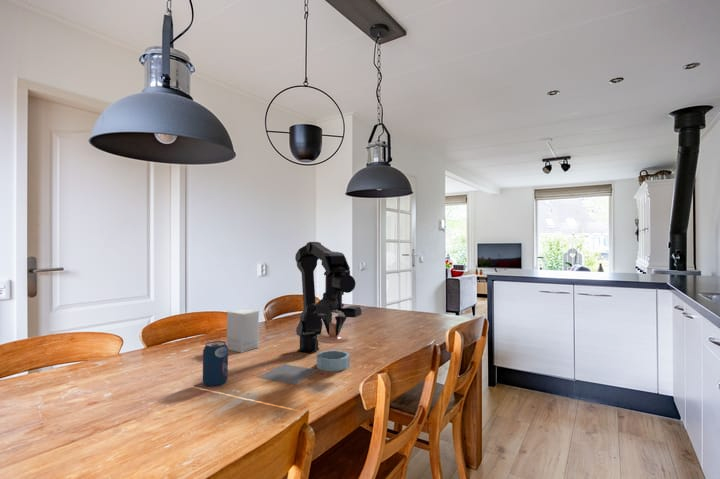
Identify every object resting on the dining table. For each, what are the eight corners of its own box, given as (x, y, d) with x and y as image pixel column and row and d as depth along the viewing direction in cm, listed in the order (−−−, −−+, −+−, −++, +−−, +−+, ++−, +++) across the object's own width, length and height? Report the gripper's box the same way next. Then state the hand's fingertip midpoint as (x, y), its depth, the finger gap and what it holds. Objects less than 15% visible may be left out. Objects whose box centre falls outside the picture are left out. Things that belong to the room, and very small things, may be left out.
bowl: (310, 369, 124) (310, 357, 124) (326, 360, 134) (327, 348, 134) (340, 374, 119) (340, 361, 119) (354, 364, 129) (354, 352, 129)
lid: (310, 341, 124) (311, 324, 124) (326, 334, 134) (326, 318, 134) (340, 345, 120) (340, 327, 120) (354, 337, 130) (354, 321, 130)
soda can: (229, 385, 109) (230, 344, 109) (204, 390, 105) (204, 347, 106) (225, 378, 115) (226, 339, 115) (201, 382, 111) (201, 342, 112)
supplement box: (259, 347, 149) (259, 310, 150) (241, 353, 142) (241, 313, 142) (244, 344, 154) (244, 308, 154) (225, 349, 147) (226, 311, 147)
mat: (256, 378, 115) (256, 377, 115) (283, 365, 128) (283, 364, 128) (294, 385, 109) (294, 384, 109) (319, 371, 122) (319, 369, 122)
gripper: (297, 290, 124) (296, 337, 123) (347, 293, 116) (347, 344, 116) (314, 287, 134) (314, 330, 134) (362, 290, 126) (361, 336, 126)
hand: (333, 335), depth 127 cm, fingers closed on lid, 3 cm apart
